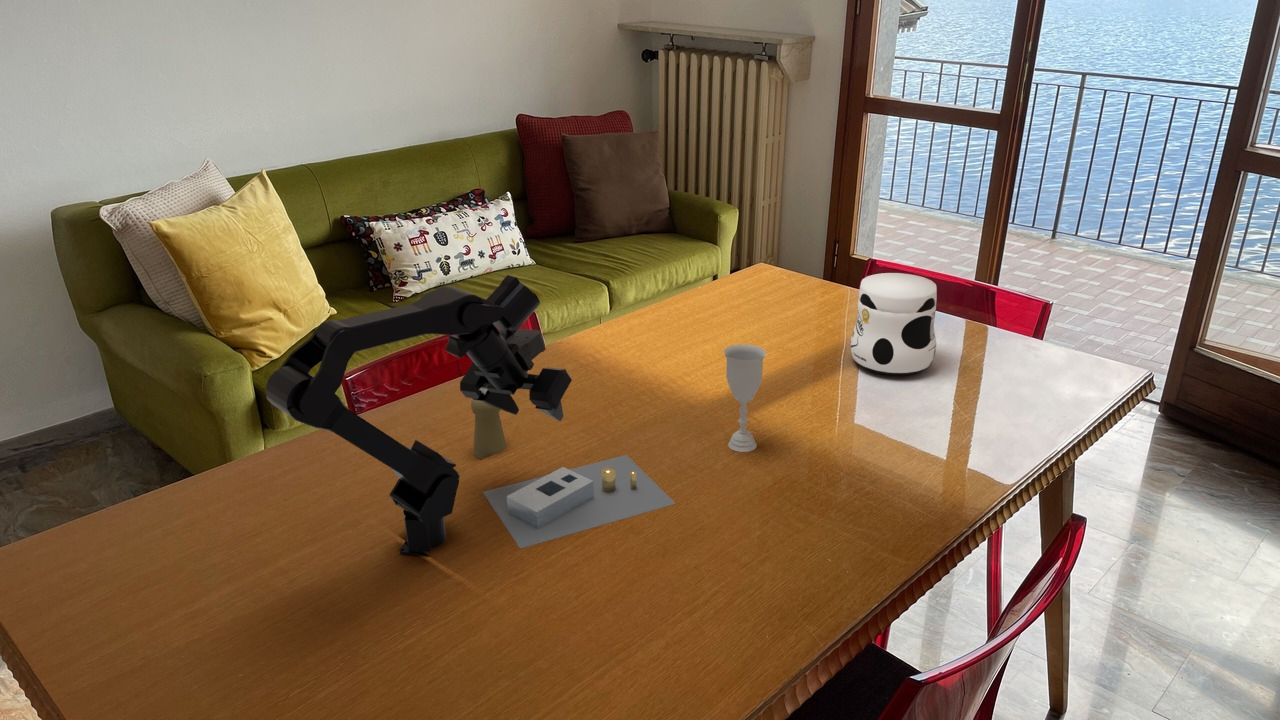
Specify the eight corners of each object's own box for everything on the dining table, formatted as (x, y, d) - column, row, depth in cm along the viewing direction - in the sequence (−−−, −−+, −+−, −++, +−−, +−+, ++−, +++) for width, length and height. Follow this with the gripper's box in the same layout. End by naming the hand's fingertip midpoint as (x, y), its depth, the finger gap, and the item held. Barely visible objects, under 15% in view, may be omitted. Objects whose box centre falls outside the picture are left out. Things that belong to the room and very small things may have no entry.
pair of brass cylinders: (602, 493, 152) (601, 473, 150) (602, 486, 154) (601, 466, 153) (636, 491, 152) (636, 472, 151) (636, 484, 154) (635, 465, 153)
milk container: (834, 355, 204) (839, 276, 197) (904, 345, 209) (912, 267, 202) (876, 387, 189) (883, 302, 182) (950, 375, 194) (960, 292, 187)
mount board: (520, 554, 138) (520, 548, 138) (483, 497, 153) (482, 492, 153) (675, 509, 149) (675, 503, 149) (626, 459, 164) (626, 454, 163)
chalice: (715, 449, 167) (717, 355, 160) (730, 433, 172) (732, 342, 165) (754, 457, 164) (757, 363, 156) (768, 441, 169) (772, 348, 162)
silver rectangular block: (538, 529, 143) (536, 512, 142) (508, 512, 147) (506, 496, 146) (594, 497, 151) (593, 481, 150) (564, 482, 155) (563, 466, 154)
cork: (501, 461, 164) (496, 404, 160) (468, 458, 165) (462, 402, 161) (512, 445, 170) (507, 389, 165) (480, 442, 171) (475, 387, 166)
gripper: (564, 316, 139) (607, 381, 149) (471, 310, 149) (518, 371, 160) (529, 374, 133) (576, 438, 144) (435, 364, 144) (486, 424, 154)
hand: (538, 415), depth 150 cm, fingers open, 9 cm apart
